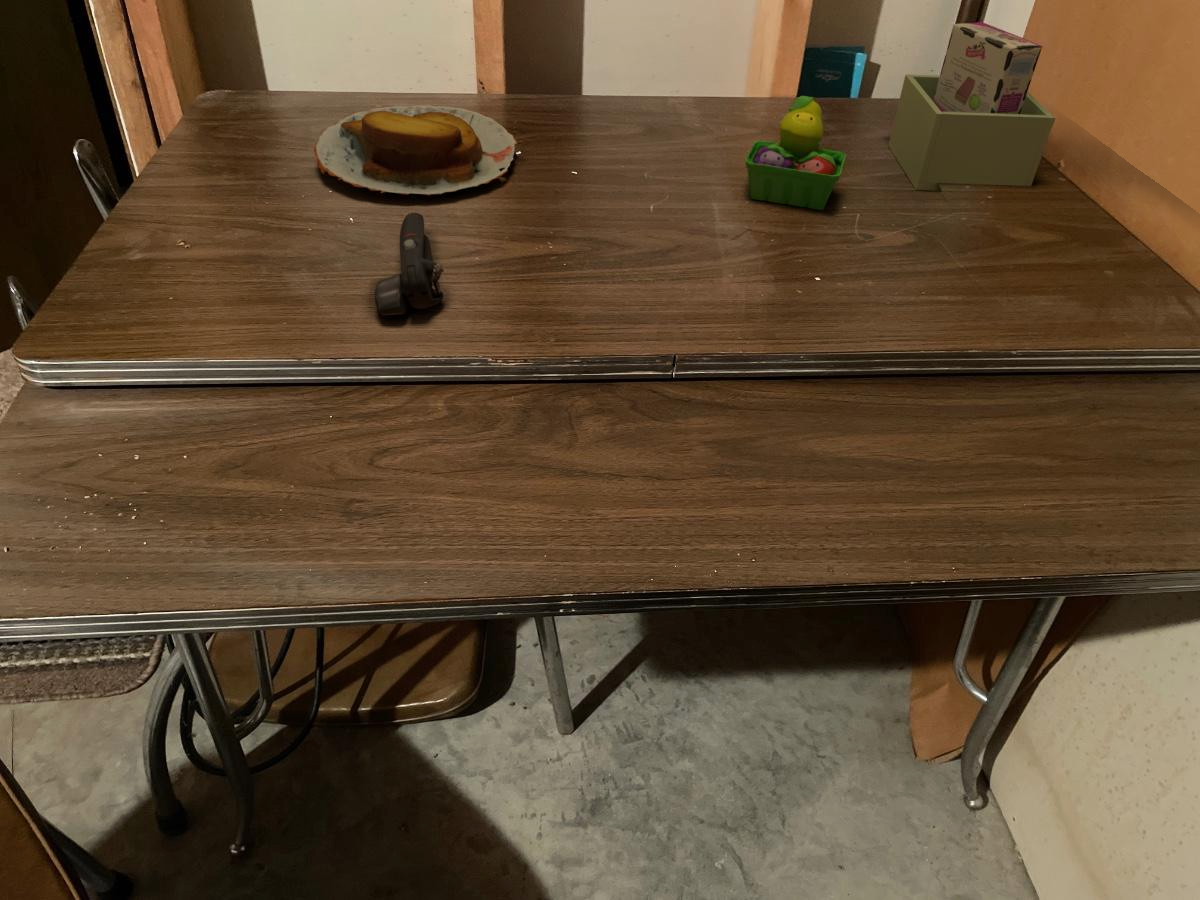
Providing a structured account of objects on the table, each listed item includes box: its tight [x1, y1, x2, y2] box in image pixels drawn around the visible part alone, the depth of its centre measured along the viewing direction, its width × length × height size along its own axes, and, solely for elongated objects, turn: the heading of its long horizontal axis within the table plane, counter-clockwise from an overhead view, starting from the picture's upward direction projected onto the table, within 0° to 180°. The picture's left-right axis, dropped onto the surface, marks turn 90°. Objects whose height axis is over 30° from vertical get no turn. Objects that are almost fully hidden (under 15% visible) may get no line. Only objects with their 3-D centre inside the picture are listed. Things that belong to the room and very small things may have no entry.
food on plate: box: [313, 104, 520, 196], centre depth 115 cm, size 25×25×7 cm
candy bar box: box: [933, 21, 1043, 114], centre depth 117 cm, size 11×5×16 cm, turn 21°
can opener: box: [373, 212, 446, 316], centre depth 93 cm, size 18×7×6 cm, turn 5°
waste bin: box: [887, 73, 1056, 192], centre depth 119 cm, size 15×15×10 cm
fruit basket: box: [744, 95, 847, 211], centre depth 111 cm, size 11×9×11 cm
